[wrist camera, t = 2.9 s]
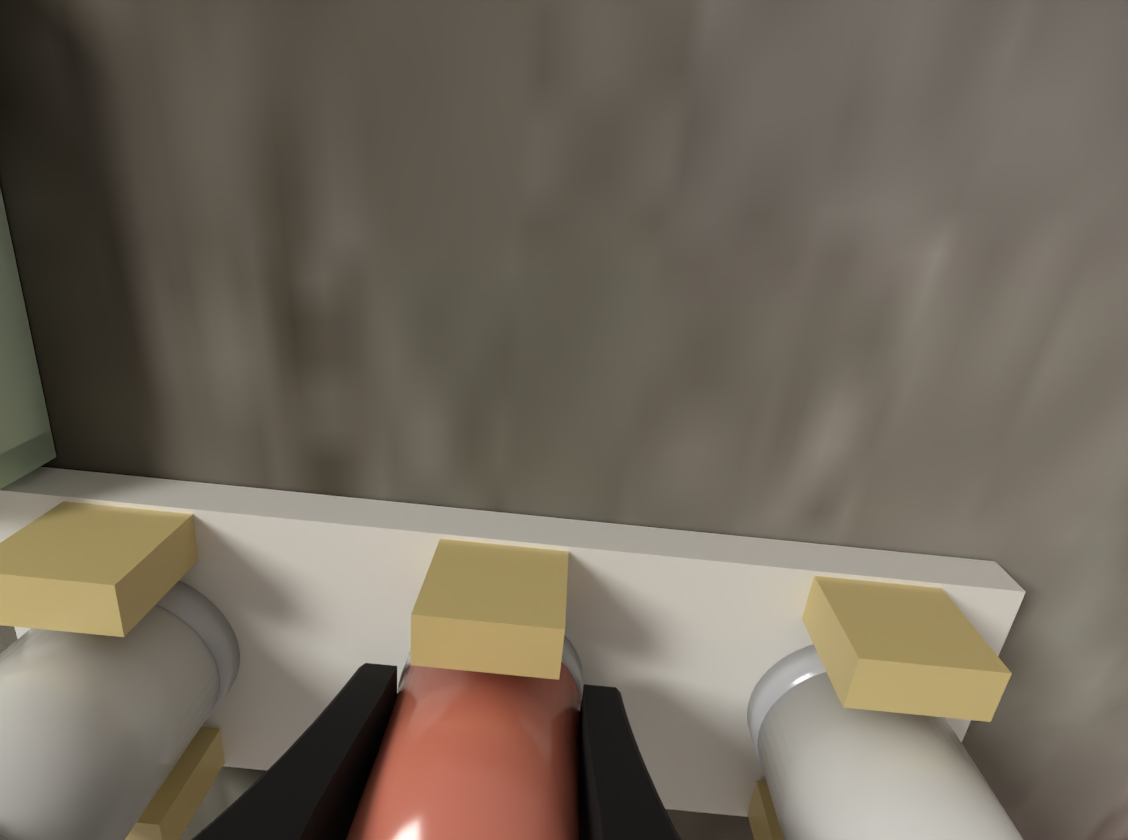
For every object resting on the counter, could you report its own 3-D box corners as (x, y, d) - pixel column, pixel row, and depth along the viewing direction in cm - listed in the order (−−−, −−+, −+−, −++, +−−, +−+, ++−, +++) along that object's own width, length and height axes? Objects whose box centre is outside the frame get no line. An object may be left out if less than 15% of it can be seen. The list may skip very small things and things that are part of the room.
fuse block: (903, 793, 16) (976, 942, 13) (78, 713, 16) (-42, 844, 13) (995, 561, 13) (1112, 677, 10) (21, 464, 13) (-144, 554, 10)
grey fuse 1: (247, 719, 14) (50, 1046, 9) (78, 703, 14) (-218, 1022, 9) (231, 577, 13) (-11, 865, 8) (44, 559, 13) (-326, 837, 8)
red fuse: (573, 750, 14) (566, 1095, 9) (406, 734, 14) (301, 1070, 9) (592, 613, 13) (596, 925, 8) (407, 595, 13) (285, 895, 8)
